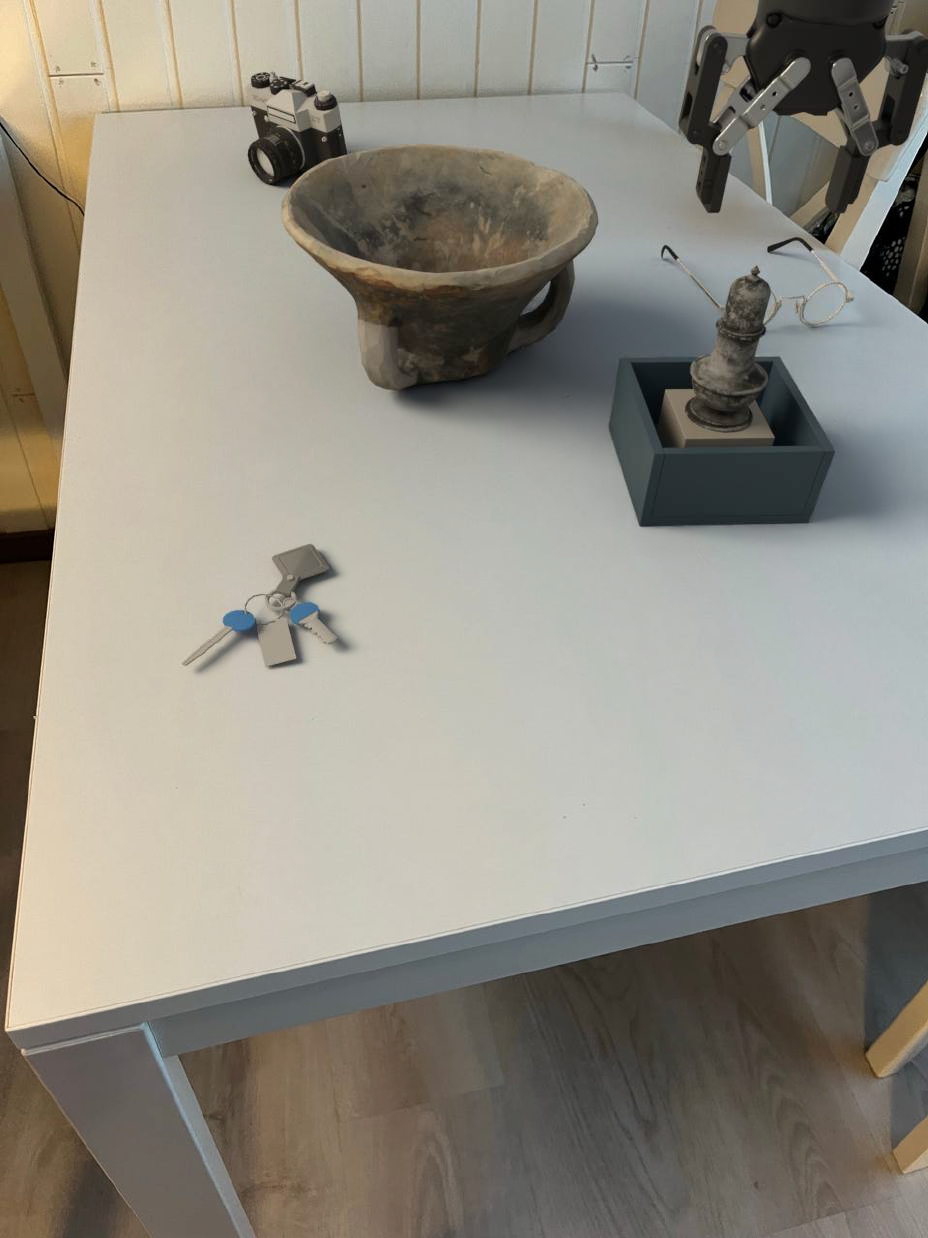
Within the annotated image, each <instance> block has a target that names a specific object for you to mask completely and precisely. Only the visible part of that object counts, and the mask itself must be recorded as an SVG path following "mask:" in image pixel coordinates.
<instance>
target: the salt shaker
mask: <svg viewBox="0 0 928 1238" xmlns="http://www.w3.org/2000/svg"><path fill="white" fill-rule="evenodd" d="M749 271H750V273H751V274H748V275H744V276H740V277H738V278H736V279H735V280H734V281H733V282H732V283H731V284H730V286H729V289H728V294H727V298H726V301H725V302H726V303H725V310H724V311H723V315H722V316H721V317H719V318H718V319H717V320H716V322H715V328H716V329H717V335H716V340H715V343H714V348H713V350H712V352H711V353H709V354H704V355H702V356H701V355H700V356H698V357H699V358H697V359H696V360H695V361H693V362H692V364H691V366H690V374H691V376H692V385H693V390H694V393H695V395H696V396H695V397H693V398H691V399H690V400H689V401H688V402H687V404H686V405H685V413H686V415H687V417H688V418H689V419H690V420H691V421H692V422H693V423H695V424H696V425H698V426H700V427H702V428H705V429H708V430H712V431H716V432H736V431H741V430H743V429H745V428H747V427H748V426H749V425H750V424H751V422H752V420H753V413H752V412H751V410H750V408H749V407H748V406H749V405H750V404H751V403H752V402H753V401H754V400H755V399H756V398H757V397H758V395H759V393H760V391H761V390H762V389H763V388H765V387H766V385H767V382H768V375H767V373H766V372H765V370H764V369H763V368H762V367H761V366H760V365H759V364H757V363H756V362H755V357H756V353H757V349H758V346H759V342H760V339H761V338H763V337H764V336H765V335H766V333H767V327H766V325H765V326H764V324H763V321H764V320H765V317H766V313H767V310H768V306H769V302H770V298H771V294H772V293H771V291H772V290H771V286H770V284H769V282H767V281H766V280H765V279H763V277H760V276H759V274H760V273H761V271H760V268H759V266H758V265H755V266H754V267H753V268H751V269H750V270H749Z"/></svg>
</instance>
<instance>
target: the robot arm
mask: <svg viewBox="0 0 928 1238" xmlns="http://www.w3.org/2000/svg"><path fill="white" fill-rule="evenodd" d="M894 5H895V0H758V3H757V8H756V14H755V17H754V20H753V21H752V24H751V25H750V27H749V28H748V30H747V31H746V33H735V32H723V31H719V29H717V28H716V27H715V26H713V24H712V25H711V24H707V25H705V26H703V27H702V28H701V29H700V30H699V31H698V34H697V38H696V42H695V45H694V52H693V55H692V60H691V63H690V68H689V74H688V78H687V82H686V86H685V91H684V95H683V99H682V104H681V109H680V112H679V117H678V122H677V125H678V128H679V129H680V131H681V132H682V134H683V136H684V137H685V138H686V140H687V141H688V143H689V144H691V145H698V146H700V147H702V152H701V158H700V163H699V168H698V172H697V179H696V184H695V192H696V196H697V198H698V200H699V201H700V203H701V205H702V206H703V208H704V210H705V211H706V213H707V214H719V213H720V212H721V209H722V206H723V200H724V195H725V190H726V187H727V181H728V177H729V172H730V167H731V163H732V159H733V158H732V157H733V156H732V155H731V153H730V152H731V150H732V149H733V148H734V146H735V145H737V144H738V142H739V141H740V140H741V139H742V138H743V137H744V136H745V135H746V134H747V133H748V132H749V131H750V130H752V129H755V128H757V127H758V126H759V125H760V124H761V122H763V121H764V120H765V118H766V117H767V116H768V115H769V114H770V113H771V112H774V113H775V114H776V115H777V116H779V117H781V116H782V117H784V116H785V117H787V116H788V117H791V116H794V115H798V114H801V113H805V114H807V115H811V116H814V117H827V116H828V114H829V113H830V112H834V113H835V115H836V117H837V118H838V121H839V124H840V127H841V129H842V131H843V133H844V136H845V139H846V143H845V145H843V144H842V145H839V148H838V152H837V154H836V158H835V162H834V165H833V168H832V172H831V176H830V180H829V183H828V186H827V190H826V193H825V196H824V204H825V206H826V207H827V209H828V210H829V211H830V213H831V214H845V213H846V211H847V209H848V206H849V205H854V203H855V201H856V200H857V199H858V197H859V195H860V192H861V187H862V184H863V181H864V178H865V175H866V172H867V169H868V166H869V162H870V160H871V158H872V156H873V154H874V153H875V152H876V151H878V150H879V149H882V148H885V147H888V146H890V145H892V146H894V147H898V146H902V145H903V144H905V143H906V142H907V140H908V139H909V137H910V133H911V130H912V127H913V122H914V120H915V116H916V112H917V109H918V105H919V101H920V98H921V94H922V91H923V88H924V84H925V79H926V77H927V73H928V37H927V36H926V35H924V34H923V33H921V32H920V31H918V30H916V29H914V28H912V27H911V28H905V29H904V30H903V31H902V32H901V33H900V34H889V35H886V24H887V20H888V18H889V16H890V14H891V13H892V11H893V8H894ZM740 57H742V58H743V61H744V63H745V66H746V68H747V70H748V74H747V76H746V77H745V78H744V79H743V80H742V81H741V82H740V84H738V86H737V87H736V88H735V89H734V90H733V91H732V92H731V94H730V95H729V96H728V98H727V101H726V104H725V105H724V106H723V108H722V109H721V110H720V111H719V112H718V113H717V114H716V115H715V117H713V118H712V120H711V117H712V112H713V108H714V105H715V101H716V96H717V93H718V88H719V84H720V82H721V76H724V75H727V74H728V73H730V71H731V69H732V67H733V65H734V63H735V62H736V60H737V59H739V58H740ZM883 59H884V64H883V67H884V70H885V71H886V72H887V73H888V75H887V79H886V83H885V87H884V91H883V94H882V98H881V103H880V107H879V111H878V115H877V118H876V119H875V120H873V121H872V120H871V112H870V110H869V107H868V104H867V102H866V99H865V96H864V94H863V93H864V92H863V91H862V88H861V86H860V85H861V84H862V82H864V80H866V78H867V77H868V76H869V75H870V74H871V73H872V72H873V71H874V70H875V69H876V68H877V66H878V65H879V64H880V63H881V61H883Z"/></svg>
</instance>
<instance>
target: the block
mask: <svg viewBox="0 0 928 1238" xmlns="http://www.w3.org/2000/svg"><path fill="white" fill-rule="evenodd" d="M695 396H696V395H695V393H694V390H693V389H666V390H665V394H664V399H663V404H662V409H661V414H660V418H659V423H658V428H657V434H658V437H659V440H660V442H661V445H662V448H685V447H756V446H772V445H773V442H774V439H775V437H774V435H773V433H772V431H771V429H770V427H769V425H768V424H767V422H766V420H765V418H764V416H763V414H762V412H761V410H760V408H759V406H758V404H757V403H756V401H755V400H754V401H753V402H752V403H751V404H750V405H749V406H748V407H749V408H750V410H751V412H752V413H753V420H752V422H751V424H750V425H749V426H748V427H747V428H745V429H743V430H741V431H736V432H716V431H712V430H708V429H705V428H702V427H700V426H698V425H696V424H695V423H693V422H692V421H691V420H690V419H689V418H688V417H687V415H686V413H685V405H686V404H687V402H688V401H689V400H690V399H691V398H693V397H695Z"/></svg>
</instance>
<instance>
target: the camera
mask: <svg viewBox="0 0 928 1238" xmlns="http://www.w3.org/2000/svg"><path fill="white" fill-rule="evenodd" d="M245 91H246V95H247V98H248V102H249V106H250V110H251V116H252V118H253V121H254V125H255V129H256V131H257V136H258V139H256V140H255V141H253V142H251V144H250V145H249V147H248V149H247V159H248V163H249V165H250V169H251V170H252V171H253V173H254V174H255V176H256V177H257V178H258V179H259V180H260V181H261V182H263V184H267V185H272V184H276V183H277V182H279V181H282V180H283V179H284V177H286V176H288V175H291V174H294V173H295V172H297V171H299V172H301V173H302V172H303V173H305V172H307V171H308V170H310V169H311V168H313V167H315V166H317V165H318V164H320V163H322V162H324V161H325V160H328V159H332V158H337V157H340V156H345V155H348V154H349V153H348V149H347V145H346V138H345V132H344V129H343V122H342V118H341V111H340V105H339V103H338V101H337V97H336V96H335V95H334V94H332V93H331V91H329V90H326V89H325V90H321V91H319V92H318V91H317V90H316V85H315V82H312V83H311V82H307V81H305V80H304V79H302V78H299V79H298V80H297V79H295V78H289V77H286V76H281V75H280V76H278V75H276V71H270V72H266V71H264V72H263V71H262V72H258V73H255V74H253V75H251V76H250V83H248V84H247V85H246V86H245Z"/></svg>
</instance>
